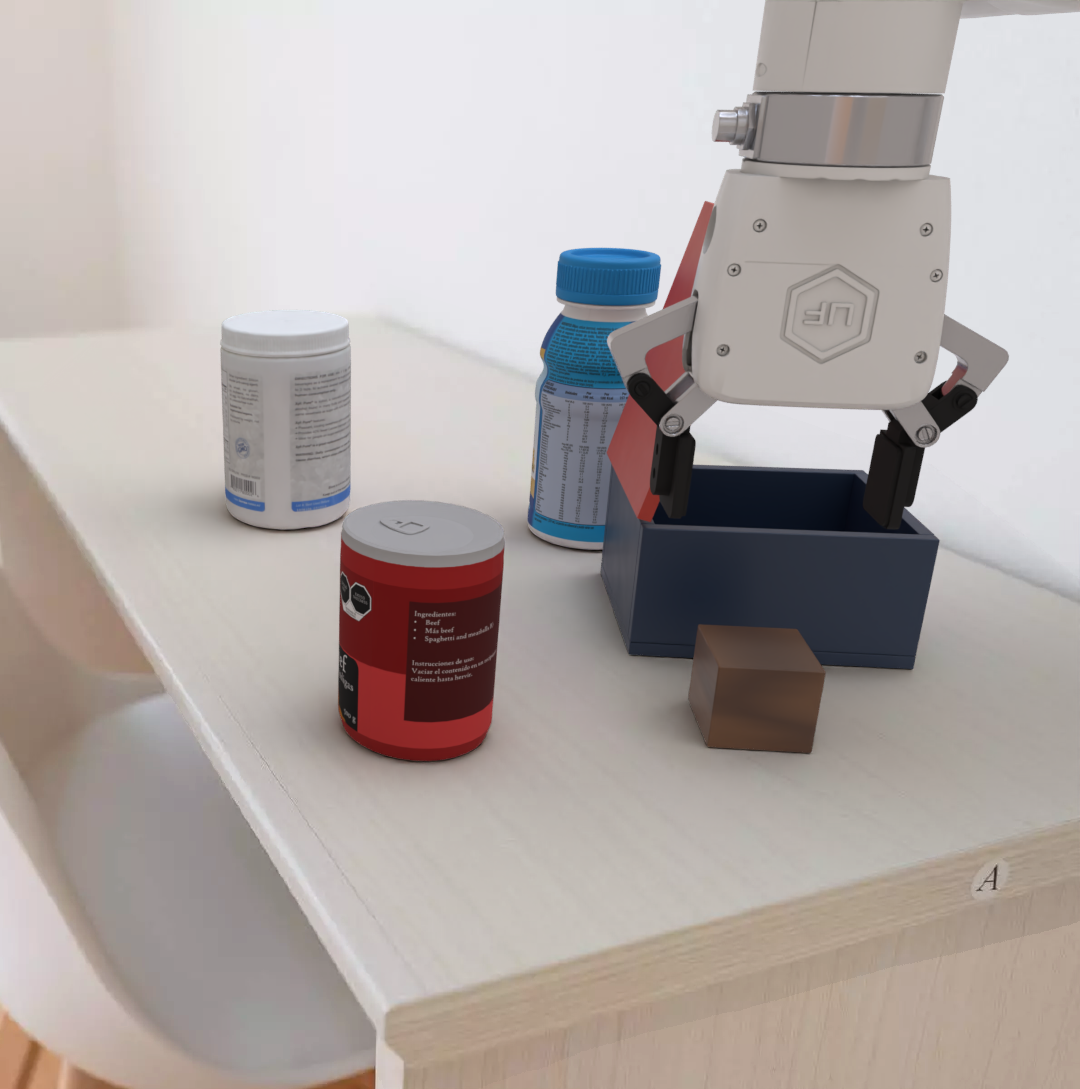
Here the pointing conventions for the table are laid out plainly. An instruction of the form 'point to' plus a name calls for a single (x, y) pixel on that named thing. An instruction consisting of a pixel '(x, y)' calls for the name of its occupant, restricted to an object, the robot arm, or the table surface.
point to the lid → (665, 367)
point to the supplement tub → (286, 417)
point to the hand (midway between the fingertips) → (774, 514)
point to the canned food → (419, 627)
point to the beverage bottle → (584, 390)
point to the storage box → (770, 566)
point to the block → (755, 688)
